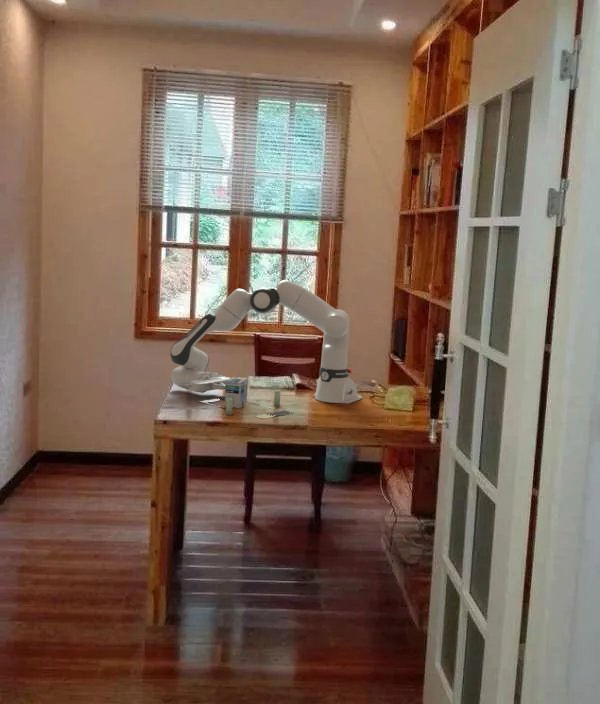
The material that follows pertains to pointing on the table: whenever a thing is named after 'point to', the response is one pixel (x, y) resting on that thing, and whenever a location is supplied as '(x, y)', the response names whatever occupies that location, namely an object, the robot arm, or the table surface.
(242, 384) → the light bulb box
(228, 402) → the trap lane
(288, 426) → the table surface
